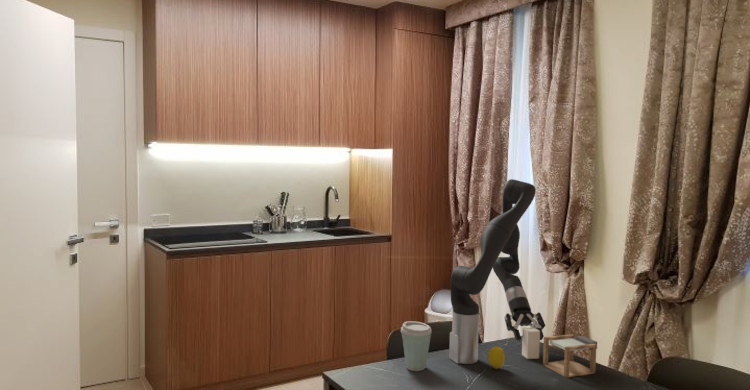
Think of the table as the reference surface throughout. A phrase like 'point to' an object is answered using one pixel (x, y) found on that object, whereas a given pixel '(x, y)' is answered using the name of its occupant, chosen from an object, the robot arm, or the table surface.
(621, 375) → the table surface
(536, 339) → the block
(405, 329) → the disposable coffee cup
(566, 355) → the frame
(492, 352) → the lemon
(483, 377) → the table surface
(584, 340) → the door
